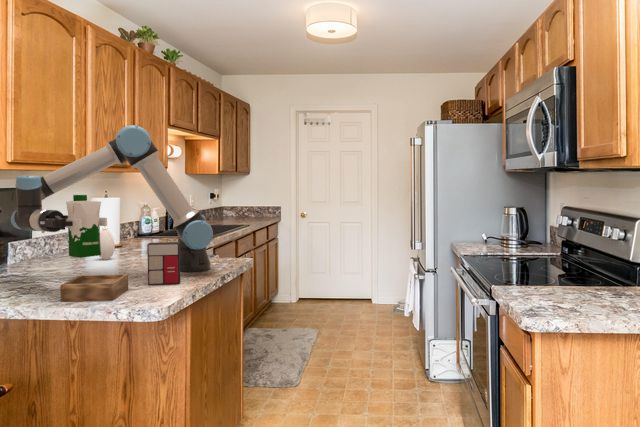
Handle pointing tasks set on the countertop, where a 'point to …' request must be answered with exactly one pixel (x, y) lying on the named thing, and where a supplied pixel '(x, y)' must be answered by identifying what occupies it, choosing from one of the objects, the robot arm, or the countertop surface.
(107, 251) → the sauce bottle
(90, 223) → the soya milk
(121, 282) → the wooden tray
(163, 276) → the beige and red box
